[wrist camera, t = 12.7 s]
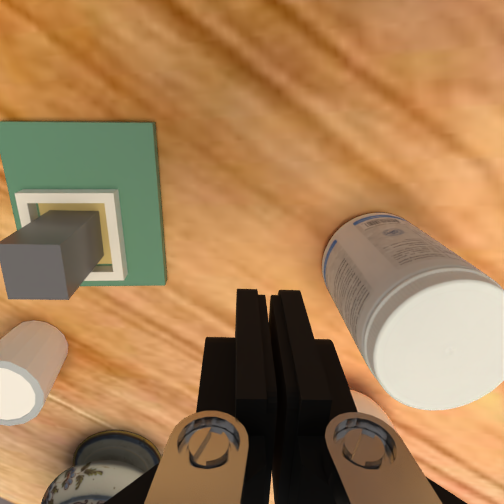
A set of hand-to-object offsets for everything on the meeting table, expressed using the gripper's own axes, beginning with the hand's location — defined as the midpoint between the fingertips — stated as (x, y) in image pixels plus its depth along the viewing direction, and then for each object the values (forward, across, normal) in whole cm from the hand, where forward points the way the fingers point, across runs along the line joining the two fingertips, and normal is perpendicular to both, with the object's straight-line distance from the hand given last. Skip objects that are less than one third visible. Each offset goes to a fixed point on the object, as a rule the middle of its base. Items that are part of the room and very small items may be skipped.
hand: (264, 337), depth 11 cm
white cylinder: (+24, +20, +18) cm, 36 cm away
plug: (+23, +14, +6) cm, 28 cm away
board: (+25, +13, +4) cm, 28 cm away
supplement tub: (+25, -12, +8) cm, 29 cm away
